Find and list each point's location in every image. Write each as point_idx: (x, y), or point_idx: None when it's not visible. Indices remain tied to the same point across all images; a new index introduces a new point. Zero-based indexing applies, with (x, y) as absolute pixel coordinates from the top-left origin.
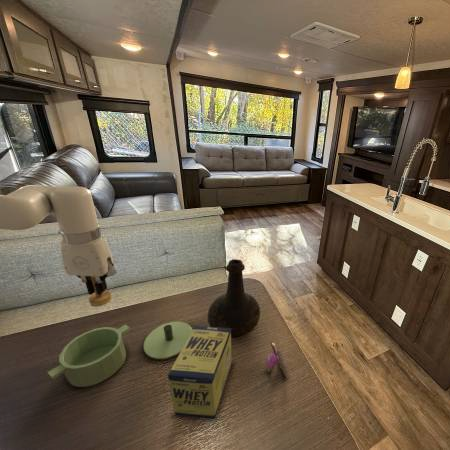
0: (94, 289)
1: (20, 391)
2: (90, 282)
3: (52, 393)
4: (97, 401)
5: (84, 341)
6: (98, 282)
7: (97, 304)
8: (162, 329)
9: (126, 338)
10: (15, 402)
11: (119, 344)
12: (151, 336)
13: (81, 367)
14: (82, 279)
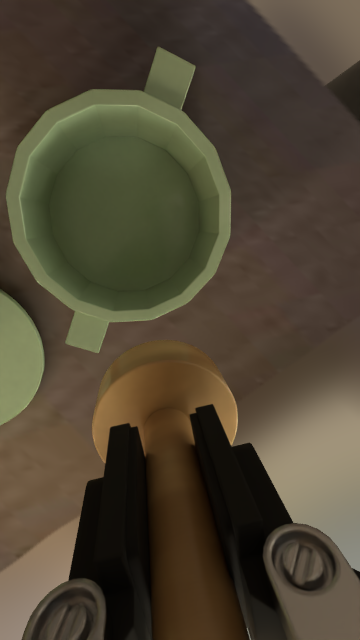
0: (184, 465)
1: (277, 85)
2: (226, 551)
3: None
4: (6, 85)
5: (203, 253)
6: (83, 596)
7: (131, 355)
8: (11, 386)
9: (120, 328)
10: (259, 47)
11: (18, 248)
12: (26, 350)
13: (68, 100)
14: (340, 590)
